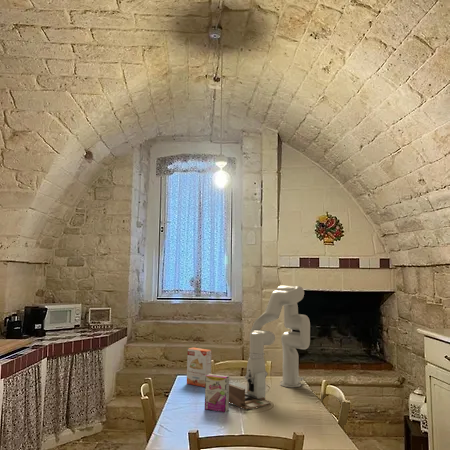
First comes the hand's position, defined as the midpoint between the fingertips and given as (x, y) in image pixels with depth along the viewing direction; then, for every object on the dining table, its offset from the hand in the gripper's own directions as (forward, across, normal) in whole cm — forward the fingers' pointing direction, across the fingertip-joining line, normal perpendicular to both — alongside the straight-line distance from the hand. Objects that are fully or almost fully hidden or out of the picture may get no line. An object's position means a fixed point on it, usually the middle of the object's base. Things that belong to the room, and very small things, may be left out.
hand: (256, 389), depth 232 cm
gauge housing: (+5, +8, +2) cm, 10 cm away
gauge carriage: (+4, +8, +3) cm, 9 cm away
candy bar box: (+5, +28, +2) cm, 29 cm away
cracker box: (+5, +9, -41) cm, 42 cm away
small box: (+4, 0, 0) cm, 4 cm away
